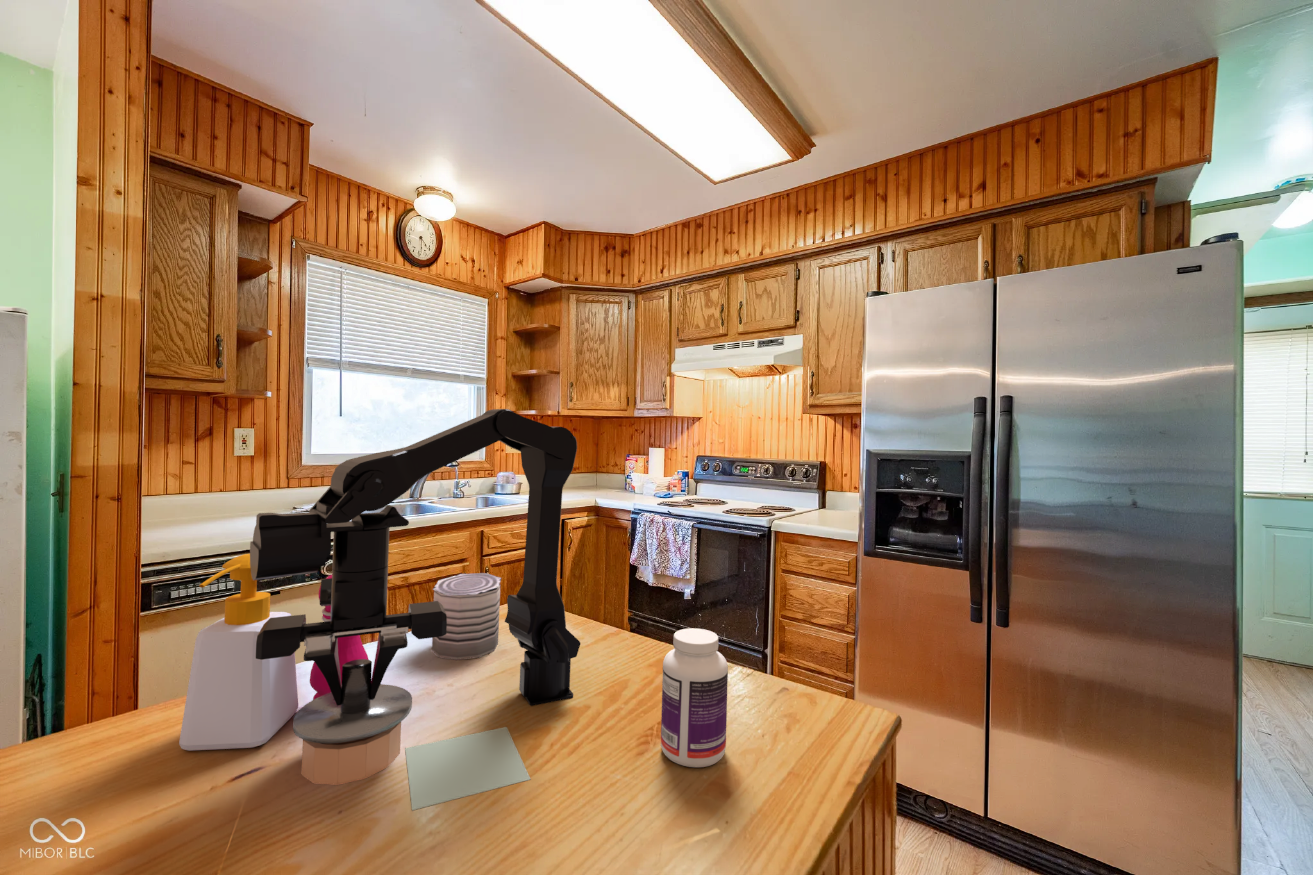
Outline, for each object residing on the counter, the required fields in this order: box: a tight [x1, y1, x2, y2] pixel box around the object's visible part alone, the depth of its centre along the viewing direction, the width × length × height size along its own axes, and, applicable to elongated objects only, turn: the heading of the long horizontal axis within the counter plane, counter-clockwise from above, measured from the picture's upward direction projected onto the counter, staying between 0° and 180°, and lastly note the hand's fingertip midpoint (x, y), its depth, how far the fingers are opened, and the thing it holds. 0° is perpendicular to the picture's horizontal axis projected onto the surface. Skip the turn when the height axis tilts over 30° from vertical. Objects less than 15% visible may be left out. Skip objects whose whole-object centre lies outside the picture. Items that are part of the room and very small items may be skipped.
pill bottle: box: [660, 627, 729, 768], centre depth 67 cm, size 8×8×14 cm
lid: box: [292, 659, 413, 743], centre depth 63 cm, size 12×12×6 cm
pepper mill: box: [309, 574, 370, 700], centre depth 75 cm, size 7×7×20 cm
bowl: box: [300, 721, 402, 786], centre depth 63 cm, size 10×10×4 cm
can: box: [431, 572, 502, 661], centre depth 97 cm, size 11×11×12 cm
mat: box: [404, 726, 531, 812], centre depth 63 cm, size 12×12×1 cm
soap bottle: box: [178, 553, 299, 751], centre depth 66 cm, size 10×14×22 cm
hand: (355, 701), depth 63 cm, fingers closed on lid, 3 cm apart
